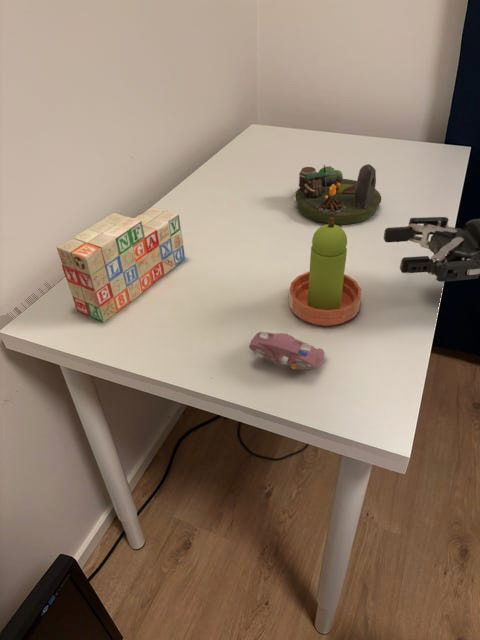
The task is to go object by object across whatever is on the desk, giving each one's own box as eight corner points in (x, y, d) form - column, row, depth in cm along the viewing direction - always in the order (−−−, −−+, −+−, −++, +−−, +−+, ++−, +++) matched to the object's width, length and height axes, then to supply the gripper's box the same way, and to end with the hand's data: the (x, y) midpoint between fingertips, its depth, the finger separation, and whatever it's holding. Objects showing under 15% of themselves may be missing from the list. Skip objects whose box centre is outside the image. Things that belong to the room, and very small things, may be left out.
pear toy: (347, 305, 77) (358, 219, 67) (322, 317, 75) (329, 230, 65) (325, 289, 80) (333, 205, 70) (300, 300, 78) (305, 215, 68)
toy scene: (348, 236, 94) (354, 184, 88) (277, 209, 104) (278, 160, 98) (395, 203, 104) (404, 154, 97) (326, 182, 114) (330, 136, 107)
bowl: (373, 310, 76) (376, 294, 74) (319, 337, 72) (321, 321, 70) (327, 278, 84) (328, 262, 81) (275, 301, 79) (275, 285, 77)
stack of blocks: (160, 251, 93) (150, 190, 85) (186, 259, 90) (178, 197, 82) (75, 311, 79) (54, 245, 71) (103, 323, 76) (84, 256, 68)
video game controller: (252, 363, 70) (241, 345, 64) (263, 336, 72) (254, 315, 66) (317, 384, 67) (312, 366, 61) (328, 354, 68) (324, 334, 62)
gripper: (487, 198, 75) (383, 204, 75) (534, 246, 64) (412, 253, 64) (474, 241, 80) (376, 246, 80) (516, 292, 69) (402, 298, 69)
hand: (392, 249), depth 72 cm, fingers open, 8 cm apart
